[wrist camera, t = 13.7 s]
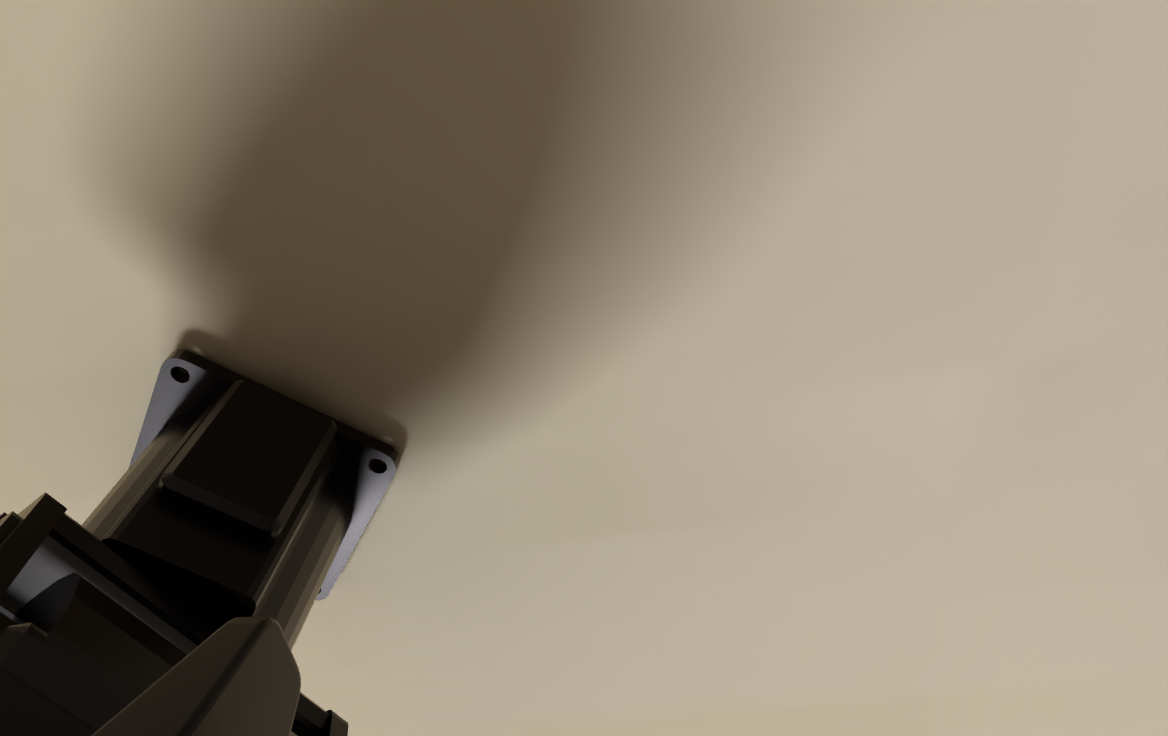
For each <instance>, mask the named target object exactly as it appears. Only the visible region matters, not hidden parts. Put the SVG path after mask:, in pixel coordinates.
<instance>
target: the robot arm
mask: <svg viewBox="0 0 1168 736" xmlns="http://www.w3.org/2000/svg"><path fill="white" fill-rule="evenodd" d="M178 366H179V367H183V368H184V369H186V370H187V371H188V373H189V374H190V375H189V374H185V373H184V372H182V371H181V370H180V369H179V367H178ZM374 459H380V460H382V461H384V462H385V463H386V464H384V465H383V464H379V463H377V462H376V461H375V460H374ZM399 462H400V457H399V454H398V452H397V451H396V450H395V448H393V447H392V446H390V445H389V444H386V443H384V442H382V441H380V440H378V439H376V438H374V437H372V436H369V435H367V434H365V433H363V432H361V431H359V430H357V429H354V428H352V427H350V426H348V425H346V424H344V423H342V422H340V421H337V420H335V419H333V418H331V417H329V416H327V415H325V414H323V413H320V412H318V411H316V410H314V409H312V408H310V407H308V406H305V405H303V404H301V403H299V402H297V401H295V400H293V399H291V398H288V397H286V396H284V395H282V394H280V393H278V392H276V391H273V390H271V389H269V388H267V387H265V386H263V385H261V384H259V383H256V382H254V381H252V380H250V379H248V378H246V377H244V376H241V375H239V374H237V373H235V372H233V371H231V370H229V369H227V368H224V367H222V366H220V365H218V364H216V363H214V362H212V361H210V360H207V359H205V358H203V357H201V356H199V355H197V354H195V353H192V352H189V351H186V350H178V351H176V352H174V353H172V354H171V355H170V356H169V357H168V358H167V359H166V360H165V361H164V363H163V364H162V366H161V369H160V372H159V375H158V378H157V382H156V385H155V388H154V391H153V394H152V397H151V400H150V404H149V407H148V410H147V413H146V416H145V419H144V423H143V426H142V429H141V432H140V435H139V438H138V441H137V445H136V448H135V451H134V454H133V457H132V460H131V463H130V467H129V469H128V470H127V472H126V473H125V474H124V475H123V476H122V478H121V479H120V480H119V481H118V482H117V484H116V485H115V486H114V487H113V488H112V490H111V491H110V492H109V493H108V494H107V495H106V497H105V498H104V499H103V500H102V501H101V503H100V504H99V505H98V506H97V507H96V509H95V510H94V511H93V512H92V513H91V515H90V516H89V517H88V518H87V519H86V521H85V522H84V523H83V524H82V525H80V524H78V523H77V522H76V521H75V520H73V519H72V518H71V517H69V516H68V515H67V514H65V511H66V510H67V508H65V507H64V506H63V505H61V504H60V503H59V502H57V501H56V500H55V499H54V498H52V497H51V496H50V495H48V494H47V493H44V494H43V495H41V496H40V497H39V498H38V499H37V500H35V501H34V502H33V503H32V504H30V505H29V506H28V507H27V508H25V509H24V510H23V511H22V512H20V513H19V514H18V515H17V514H16V513H15V512H13V511H12V512H11V513H9V514H6V513H5V512H4V513H3V514H2V515H0V736H347V734H348V723H347V722H346V721H345V720H343V719H342V718H341V717H339V716H338V715H337V714H336V713H334V712H333V711H331V710H328V711H325V710H323V709H322V708H321V707H319V706H318V705H317V704H315V703H314V702H313V701H312V700H310V699H309V698H308V697H306V696H305V695H304V694H302V693H301V692H300V688H301V678H300V672H299V669H298V666H297V664H296V661H295V659H294V657H293V654H292V652H291V650H292V648H293V646H294V644H295V642H296V640H297V637H298V635H299V633H300V631H301V629H302V627H303V625H304V622H305V620H306V618H307V616H308V614H309V612H310V610H311V607H312V605H313V603H314V601H315V600H322V599H325V598H326V597H327V596H328V595H329V593H330V591H331V589H332V588H333V586H334V584H335V582H336V580H337V578H338V577H339V575H340V573H341V571H342V569H343V568H344V566H345V564H346V562H347V560H348V558H349V557H350V555H351V553H352V551H353V549H354V547H355V546H356V544H357V542H358V540H359V538H360V537H361V535H362V533H363V531H364V529H365V527H366V526H367V524H368V522H369V520H370V518H371V517H372V515H373V513H374V511H375V509H376V507H377V506H378V504H379V502H380V500H381V498H382V496H383V495H384V493H385V491H386V489H387V487H388V486H389V484H390V482H391V480H392V478H393V476H394V475H395V472H396V470H397V468H398V466H399Z"/></svg>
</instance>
